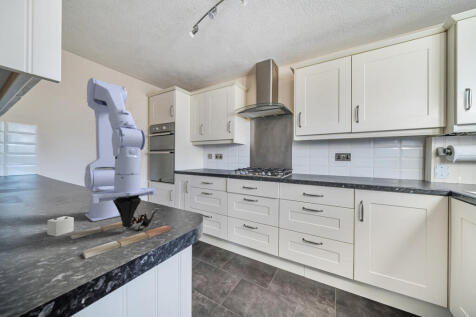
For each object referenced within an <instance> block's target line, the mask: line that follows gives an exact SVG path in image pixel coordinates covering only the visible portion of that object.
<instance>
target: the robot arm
mask: <svg viewBox="0 0 476 317" xmlns="http://www.w3.org/2000/svg"><path fill="white" fill-rule="evenodd" d="M127 99H128V92H127V89H126V88H125V87H124V86H120V85H116V84H112V83H109V82H106V81H104V80H101V79H100V80H99V79H96V78H95V77H90V78H89V79H88V81H87V85H86V102H87V107H89V108H90V109H92V110H93V111H94V118H95V145H96V146H95V148H96V149H95V152H96V153H95V154H96V159H95V160H92V162H90V163H88V164H87V165H86V166H85V169H84V170H85V171H84V172H85V173H84V187H85V188H86V189H87V190H90V194H89V195H88V196H89V197H88V213H85V214H84V216H85V217H86V218H88V219H89V220H90V221H92V222H97V221H103V220H107V219H111V218H117V217H120V220H121V222H122V227H124V228H128V227H129V226H131V222H132V219H133V217H134V215H135V212H137V211H136V210H137V208H138V207H139V205H140V204H141V202H142V198H141V197H144V196H145V197H146V196H155V195H157V187H154V186H153V187H141V164H142V163H141V162H142V161H141V158H142V156H141V155H142V153H141V152H142V150H143V149H144V148H145V145H146V134H145V131H144V129H141V128H140V127H137V125H136V122H135V120H134V117H133V115H132V113H131V112H130V111H129V110H127V109H126V107H125V104H126V103H127ZM131 227H132V226H131Z"/></svg>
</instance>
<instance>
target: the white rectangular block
mask: <svg viewBox="0 0 476 317" xmlns="http://www.w3.org/2000/svg"><path fill="white" fill-rule="evenodd" d="M74 219H75V218H74V217H71V216H67V215H66V216H64V215H63V216H60V217H55V218H51V219H47V227H46V228H47V230H46V232H47V233H46V234H47V235H49V236H51V237H52V236H53V237H59V236H62V235H65V234H68V233H69V234H70V233H73V232H74V225H75V224H74V222H75V220H74Z"/></svg>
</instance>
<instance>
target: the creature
mask: <svg viewBox="0 0 476 317" xmlns="http://www.w3.org/2000/svg"><path fill="white" fill-rule="evenodd" d="M157 211H158V209H156V210H154V212H152V214H151V216H150V217H149V219H148V218H147V217H148V216H147V213H146V212H144V213H143V214H139V212H138V211H137V209H136V211H135V212H137V213H136V214H137V216H133V218H132V219H133V220H132V222H131V223H132V224H131V226H129V227H125V229H123V230H122V232H124V231H127V230H128V231H129V230H131V227H132V226H133V225H134V224H137V225H139V224H140V223H141V224H140V225H139V227H138V228H137V229H136V231H137V232H139V231H140V228H141V227H144V228H145V229H146V228H148V227H149V226H150V223H151V222H152V220H153V218H154V215H155V213H156V212H157ZM139 217H140V218H139ZM143 217H144V218H143ZM137 218H138V220H136V219H137ZM142 220H143V221H142ZM135 221H136V223H134V222H135ZM132 230H133V231H135V228H132Z"/></svg>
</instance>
